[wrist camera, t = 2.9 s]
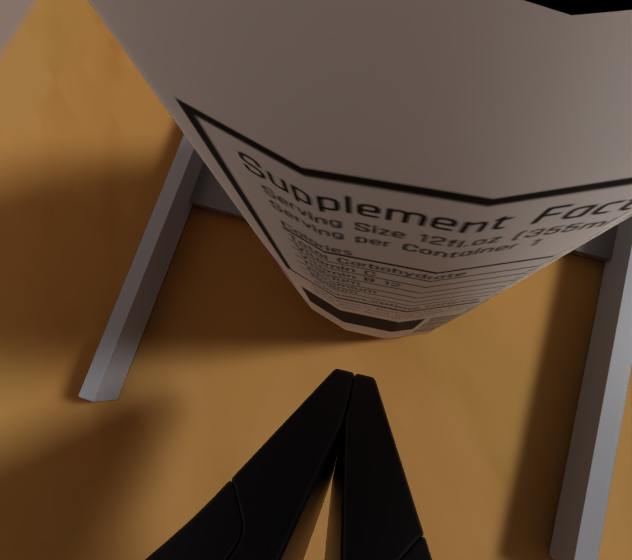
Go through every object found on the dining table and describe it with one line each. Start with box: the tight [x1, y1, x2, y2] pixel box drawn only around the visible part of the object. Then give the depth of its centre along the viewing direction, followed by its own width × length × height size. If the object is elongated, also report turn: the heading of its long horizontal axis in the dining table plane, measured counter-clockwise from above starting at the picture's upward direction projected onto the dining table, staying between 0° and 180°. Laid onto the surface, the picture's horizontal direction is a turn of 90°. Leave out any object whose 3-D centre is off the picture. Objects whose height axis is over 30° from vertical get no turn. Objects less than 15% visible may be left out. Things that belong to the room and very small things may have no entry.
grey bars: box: [79, 134, 632, 560], centre depth 16 cm, size 18×17×2 cm
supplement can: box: [88, 0, 632, 339], centre depth 9 cm, size 8×8×15 cm
